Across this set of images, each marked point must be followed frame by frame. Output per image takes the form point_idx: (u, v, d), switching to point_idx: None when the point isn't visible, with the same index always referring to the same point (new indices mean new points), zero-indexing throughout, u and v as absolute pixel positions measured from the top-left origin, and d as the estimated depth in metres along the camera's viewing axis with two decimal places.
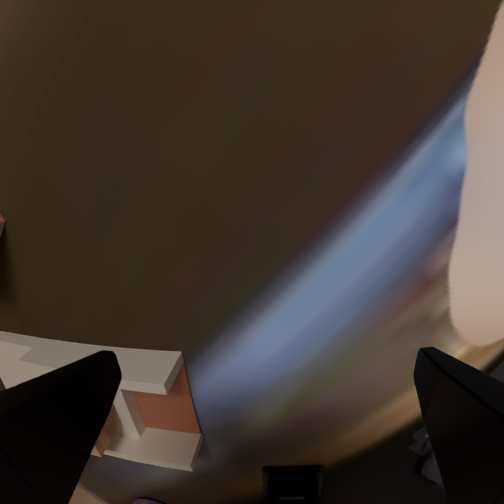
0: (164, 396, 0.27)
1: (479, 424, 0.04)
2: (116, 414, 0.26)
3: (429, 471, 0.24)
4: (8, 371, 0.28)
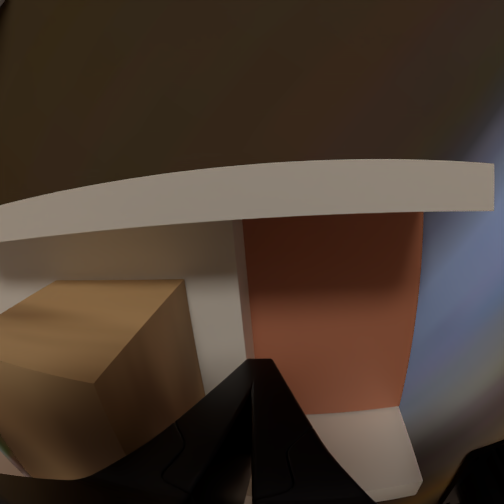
0: (347, 310, 0.11)
1: None
2: (200, 383, 0.10)
3: None
4: None
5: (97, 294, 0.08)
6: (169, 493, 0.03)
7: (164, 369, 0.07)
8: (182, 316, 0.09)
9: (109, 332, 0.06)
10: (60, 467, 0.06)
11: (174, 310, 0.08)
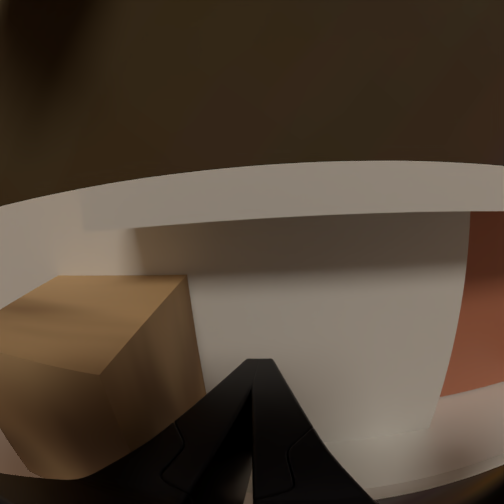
0: None
1: None
2: (201, 379, 0.10)
3: None
4: None
5: (100, 289, 0.08)
6: (169, 493, 0.03)
7: (167, 364, 0.07)
8: (184, 312, 0.09)
9: (113, 325, 0.06)
10: (61, 462, 0.06)
11: (177, 305, 0.08)
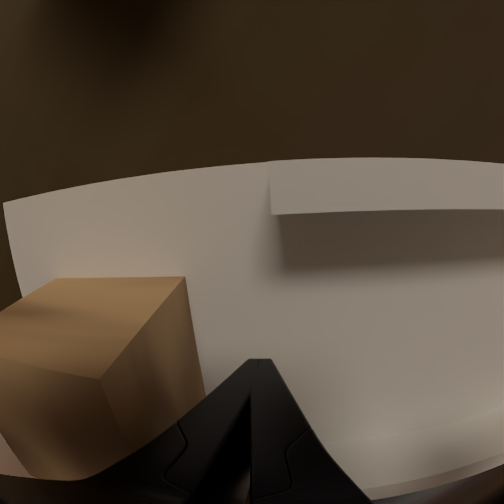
0: None
1: None
2: (200, 380, 0.10)
3: None
4: None
5: (98, 291, 0.08)
6: (172, 493, 0.03)
7: (167, 366, 0.07)
8: (183, 313, 0.09)
9: (113, 328, 0.06)
10: (62, 465, 0.06)
11: (176, 306, 0.08)
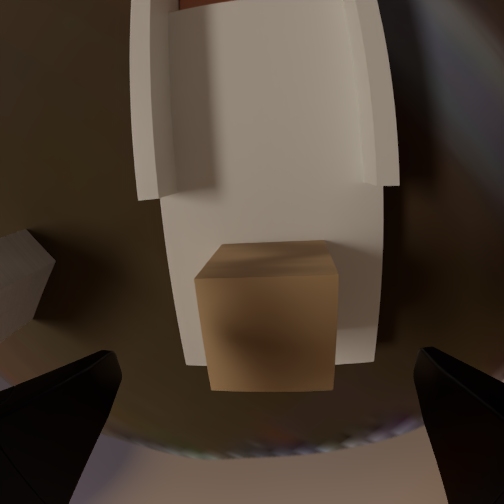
0: None
1: (479, 424, 0.04)
2: (295, 242, 0.15)
3: None
4: None
5: None
6: None
7: (246, 256, 0.14)
8: (238, 246, 0.15)
9: None
10: (292, 342, 0.12)
11: (227, 249, 0.15)
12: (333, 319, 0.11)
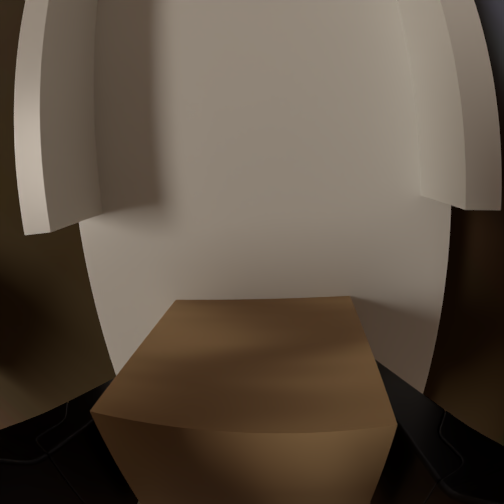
0: None
1: (392, 443, 0.05)
2: (300, 301, 0.09)
3: None
4: None
5: None
6: (35, 451, 0.04)
7: (205, 342, 0.07)
8: (199, 309, 0.09)
9: None
10: None
11: (179, 315, 0.08)
12: (369, 484, 0.04)
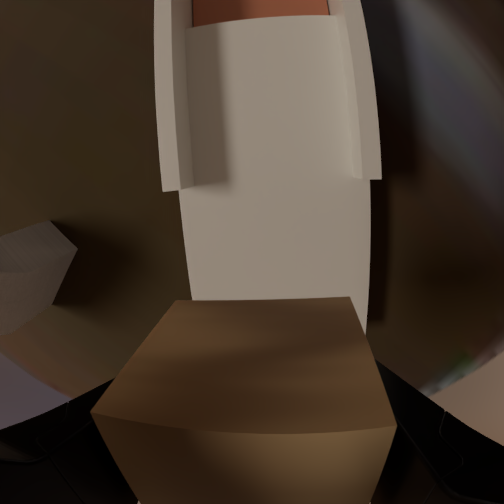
0: None
1: (392, 443, 0.05)
2: (300, 301, 0.09)
3: None
4: (260, 298, 0.20)
5: None
6: (34, 451, 0.04)
7: (205, 343, 0.07)
8: (199, 309, 0.09)
9: None
10: None
11: (180, 316, 0.08)
12: (369, 484, 0.04)
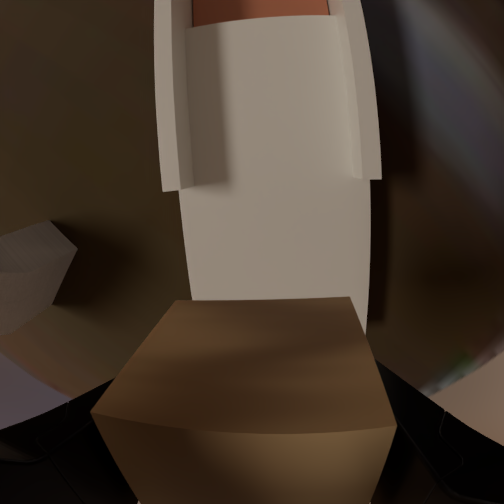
0: None
1: (392, 443, 0.05)
2: (300, 301, 0.09)
3: None
4: (260, 298, 0.20)
5: None
6: (34, 451, 0.04)
7: (205, 343, 0.07)
8: (199, 309, 0.09)
9: None
10: None
11: (180, 316, 0.08)
12: (369, 484, 0.04)
